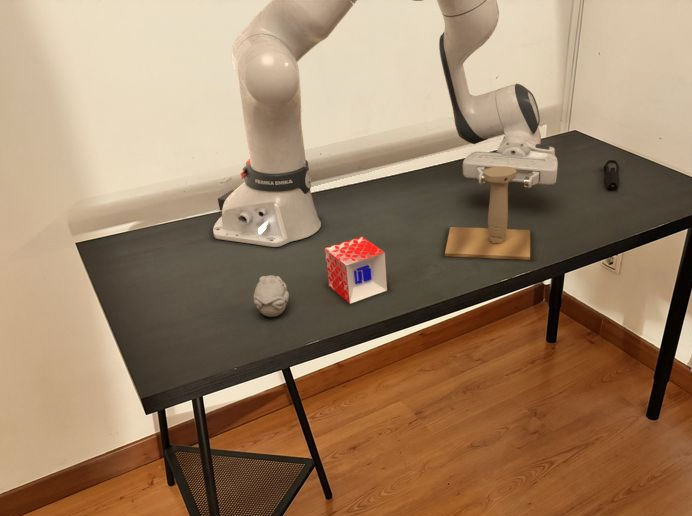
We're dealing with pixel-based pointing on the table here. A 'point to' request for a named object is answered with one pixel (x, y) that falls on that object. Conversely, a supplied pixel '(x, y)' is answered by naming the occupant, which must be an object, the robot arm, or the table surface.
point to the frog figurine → (271, 295)
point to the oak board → (487, 244)
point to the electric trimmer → (611, 174)
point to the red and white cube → (356, 269)
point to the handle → (498, 201)
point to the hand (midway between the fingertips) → (504, 182)
